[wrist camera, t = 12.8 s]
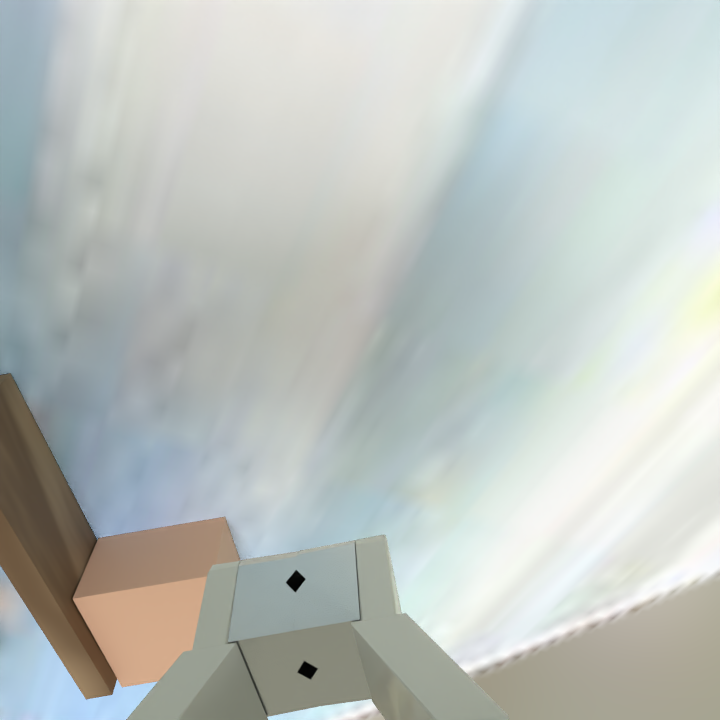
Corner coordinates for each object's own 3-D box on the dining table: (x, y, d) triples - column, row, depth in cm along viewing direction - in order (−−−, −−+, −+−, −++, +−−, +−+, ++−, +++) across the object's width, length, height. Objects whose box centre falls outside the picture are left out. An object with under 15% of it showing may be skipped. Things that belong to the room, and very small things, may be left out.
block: (141, 621, 53) (121, 687, 47) (99, 536, 48) (72, 598, 43) (256, 602, 52) (249, 666, 47) (225, 514, 48) (214, 575, 42)
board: (113, 620, 52) (85, 699, 46) (-20, 378, 40) (-79, 441, 34) (136, 615, 52) (112, 694, 46) (10, 373, 40) (-45, 434, 34)
